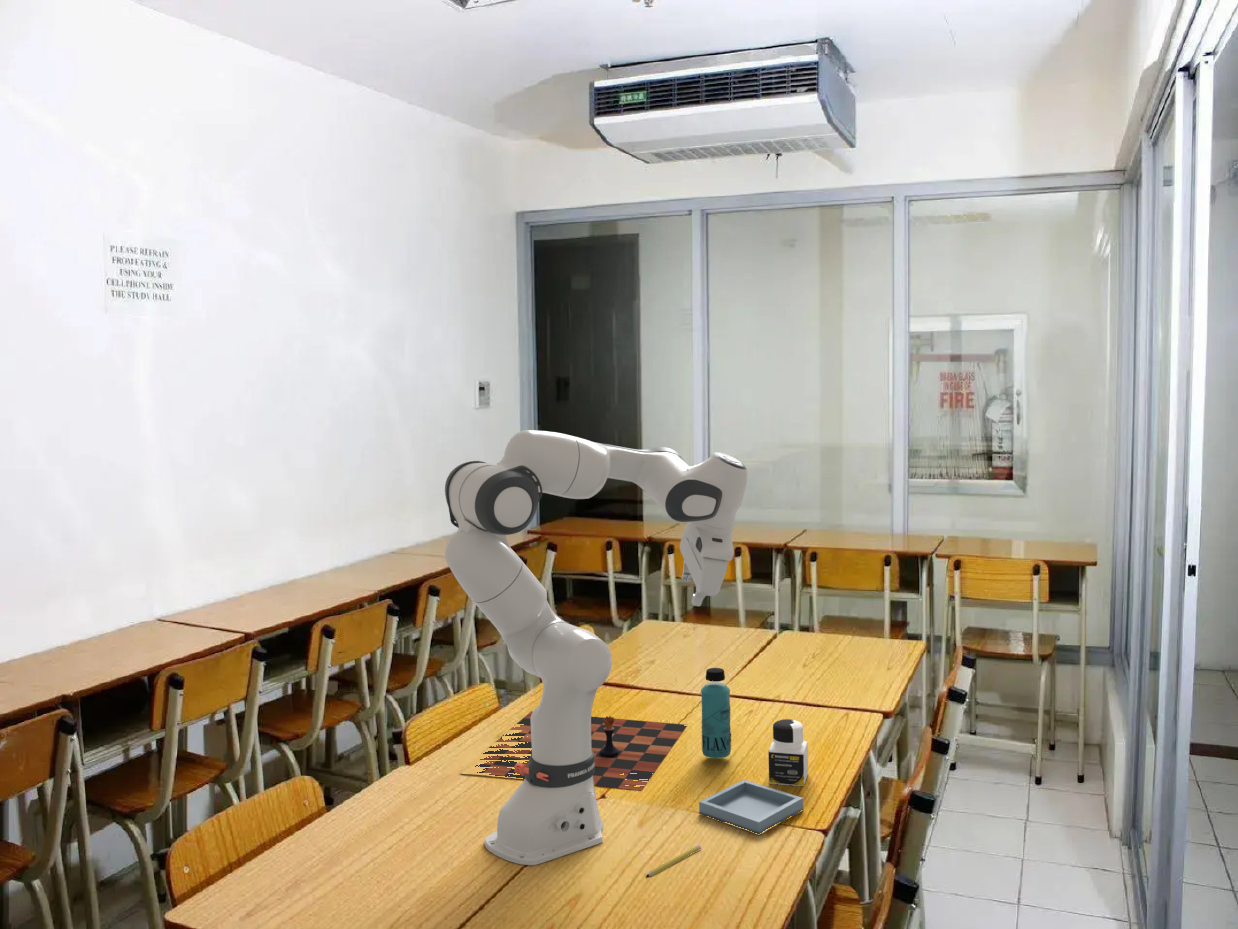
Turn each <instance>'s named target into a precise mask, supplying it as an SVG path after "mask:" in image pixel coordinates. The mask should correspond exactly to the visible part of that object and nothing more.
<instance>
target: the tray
mask: <svg viewBox="0 0 1238 929" xmlns="http://www.w3.org/2000/svg"><path fill="white" fill-rule="evenodd" d="M698 808H699V810H698V813H699V814H702V815H704V816H703V817H705V816H709V817H711V818H714V819H716V820H719V821H721V822H720V823H722V822H727V823H730V824H733V825H735V826H738V827H741V828H744V829H747V830H749V831H752V832H754V833H757V834H760V833H762V832H763V831H765V830H766V829H768V828H770V827H772V826H774V825H775V824H777V823H779V822H782V823H784V822H785V821H784V820H786V819H787V818H789V817H790V816H793V815H795V814H796V813H798V812H800V811H801V810H803V811H804V798H803V797H801V796H798V795H795V794H791V793H788V792H785V791H783V790H779V789H776V788H773V787H769V786H765V785H762V784H760V783H756V782H752V781H750V780H746V779H742V780H741V781H738V782H736V783H734V784H731V785H729V786H728V787H726V788H724V789H722V790H721V791H718V792H716V793H714V794H712V795H709V796H707V797H706V798H704V799H702V800H700V801H699V802H698ZM800 813H801V812H800ZM798 814H799V813H798ZM702 815H701V816H702ZM796 815H797V814H796ZM796 815H795V816H796ZM793 817H794V816H793ZM711 818H710V819H711ZM714 819H713V820H714ZM789 819H790V818H789ZM716 820H715V821H716ZM719 821H718V822H719ZM783 821H784V822H783ZM786 821H787V820H786Z"/></svg>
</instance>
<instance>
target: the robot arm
mask: <svg viewBox="0 0 1238 929" xmlns="http://www.w3.org/2000/svg"><path fill="white" fill-rule="evenodd" d="M608 479H613V480H618V481H619V480H620V481H626V482H630V483H631V482H632V483H633V484H636V485H637V486H638V488H640V489H642V491H643V492H645V493H646V494H647V495H648V496H649V497H650V498H651V499H652V500H653V502H655V503H656V504H657V505H658V507H659V508H660V509H661V510H662V511H663V512H664V513H665V514H666V515H667V516H668V517H669V518H671V519H673V520H674V521H676V522H680V523H687V524H686V525H685V528H684V531H683V533H682V534H683V535H682V537H681V539H680V543H679V550H680V551H679V552H680V554H681V555H682V558H683V565H682V566H683V567H682V574H681V580H682V582H683V583H687V584H690V583H691V582H692V580H693V583H694V585H695V593H693V594H692V596H691V600H690V601H691V604H692V606H694V607H701V606H702V603H703V601H704V599H705V598H706V597H707V596H708V597H715V596H716V595H718V593H719V592H720V590H721V587H722V585H723V582H724V579H725V576H726V574H727V571H728V570H727V569H728V564H729V563H728V562H730V561H731V562H732V560H733V559H734V555H735V550H734V545H733V536H734V535H733V534H734V533H733V531H734V529H735V528H734V527H735V524H736V515H737V512H738V510H739V509H740V507H741V504H742V502H743V499H744V496H745V492H746V487H747V482H748V469H747V467H746V466H745V465H744V464H743V462H741V461H740V460H739V459H738V458H735V457H733V456H732V455H729V454H727V453H724V452H720V451H718V452H713V453H712V454H711V455H710V457H708V458H706V459H705V460H704V461H702V462H699V463H697V464H695V465H692V466H690V465H689V464H688V463H686V461H685V460H684V459H683V458H682V456H681V455H680V454H679V453H678V452H677V451H676V449H675V450H674V449H673V448H670V447H667V446H666V447H665V446H658V447H657V446H656V447H653V448H652V447H651V448H647V449H645V448H644V449H636V448H629V447H625V446H624V447H623V446H617V445H613V444H609V443H608V444H607V443H600V442H594V441H591V440H588V439H585V438H582V437H578V436H574V435H571V434H570V435H569V434H566V433H561V432H556V431H547V430H533V429H530V430H528V429H525V430H521V431H519V432H517V433H515V434H514V435H513V436H512V437H511V438H510V439H509V441H508V443H507V444H506V447H505V450H504V454H503V457H502V458H501V460H499V462H497V463H496V464H492V463H488V462H486V461H485V462H484V461H483V460H482V461H480V460H472V461H466V462H464V463H461V464H459V465H457V466H455V468H453V469H452V470H451V471H450V472H449V474H448V476H447V478H446V481H445V484H444V496H445V501H446V504H447V507H448V512H449V520H450V522H451V524H452V525H453V526H454V527H456V528H457V531H456V532H455V533H454V534H453V535H452V537H451V538H450V539H449V540H448V543H447V544H446V547H445V551H444V559H445V561H446V564H447V566H448V567H449V570H450V571H451V573H452V574H453V576H454V578H455V580H457V582H458V584H459V585H460V587H461V588H462V590H463V591H464V592H465V593H466V595H467V596H468V597H469V599H470V600H471V601H472V602H473V603H474V604H475V605H476V606H477V607H478V609H479V610H480V612H481V613H483V615H484V616H485V617H486V618H487V619H488V621H490V622H491V624H492V625H493V626H494V628H496V630H497V631H498V633H499V635H500V636H501V638H502V639H503V641H504V643H505V645H506V646H507V652H508V654H509V656H510V658H511V659H512V660H513V661H514V662H515V663H516V664H517V665H518V666H519V667H520V668H521V669H522V670H524V671H525V672H526V673H528V674H530V675H533V676H535V677H537V678H540V680H541V682H542V693H541V699H540V701H539V705H537V707H535V708H534V709H533V710H532V711H533V712H532V715H531V743H532V754H531V756H530V759H529V762H528V766H527V765H525V764H522V763H520V762H519V763H517V764H516V766H515V767H514V768H515V769H514V770H515V771H514V772H516V773H517V774H521V775H522V776H524V775H525V780H522V783H521V784H520V785H519V786H518V787H517V788H516V790H515V791H514V792H513V793H512V795H511V796H510V797H509V799H508V800H507V801H506V802H505V804H504V805H503V806H502V807H501V808H500V810H499V812H498V816H497V823H496V825H497V826H496V830H495V831H494V832H492V833H490V834H489V835H487V836H486V837H485V838H484V846H485V849H487V851H489V852H490V853H491V852H492V853H491V854H493V855H495V856H496V857H499V858H500V859H504V860H506V861H509V862H511V863H514V864H518V865H524V866H525V865H526V866H536V865H539V864H542V863H546V862H549V861H551V860H555V859H557V858H560V857H563V856H565V855H569V854H573V853H575V852H579V851H581V850H584V849H586V848H590V847H592V846H596V845H599V844H601V843H603V840H604V838H603V834H602V832H603V829H604V824H603V821H602V818H601V814H600V811H599V806H598V801H597V797H596V796H597V795H596V788H595V787H594V781H593V775H594V773H595V762H594V753H593V751H592V747H591V717H592V712H593V711H592V710H593V707H594V706H593V705H594V701H595V697H596V695H597V691H598V690H599V688H600V687H601V686H603V685H604V683H605V682H606V681H607V679H608V678H609V676H610V674H611V671H612V667H613V666H612V665H613V655H612V652H611V649H610V648H609V646H608V645H607V643H605V641H603V640H602V639H601V638H600V637H599V636H597V635H596V634H594V633H593V632H592V631H591V630H588V629H585V628H582V627H579V626H576V625H574V624H571V623H569V622H567V621H564V620H563V619H561V617H559V616H558V615H557V614H556V613H555V612H554V610H553V609H552V608H551V605H550V604H549V602H548V594H547V590H546V588H545V587H544V586H543V584H542V583H541V581H539V580H538V578H537V577H536V576H535V575H534V574H533V572H532V571H531V570H530V568H529V567H528V566H527V565H526V564H525V563H524V560H522V558H520V556H519V555H518V554H517V553H516V552H515V551H514V550H513V549H512V548H511V545H510V544H509V541H508V539H507V536H508V535H509V536H510V535H514V534H517V533H521V532H522V531H524V530H525V529H526V528H527V527H528V526H529V525H530V524H531V522H532V521H533V519H534V517H535V515H536V512H537V510H538V506H539V502H540V501H541V499H542V497H543V494H548V495H553V496H557V497H560V498H561V497H562V498H567V499H573V500H574V499H575V500H585V499H588V500H589V499H590V498H592V497H594V496H595V495H597V494H598V493H599V492H601V490H602V489H603V487H604V486H605V484H606V482H607V480H608Z"/></svg>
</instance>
